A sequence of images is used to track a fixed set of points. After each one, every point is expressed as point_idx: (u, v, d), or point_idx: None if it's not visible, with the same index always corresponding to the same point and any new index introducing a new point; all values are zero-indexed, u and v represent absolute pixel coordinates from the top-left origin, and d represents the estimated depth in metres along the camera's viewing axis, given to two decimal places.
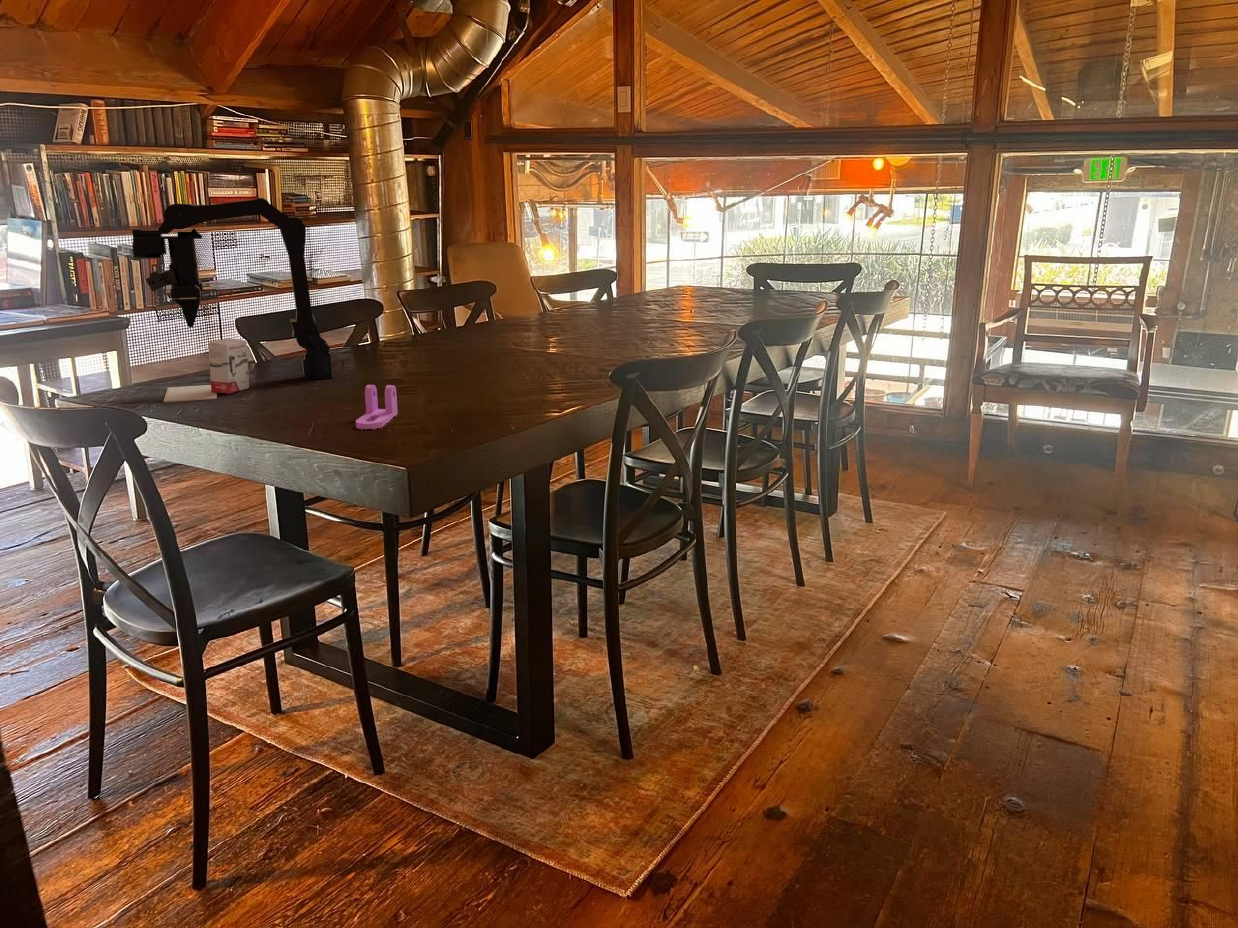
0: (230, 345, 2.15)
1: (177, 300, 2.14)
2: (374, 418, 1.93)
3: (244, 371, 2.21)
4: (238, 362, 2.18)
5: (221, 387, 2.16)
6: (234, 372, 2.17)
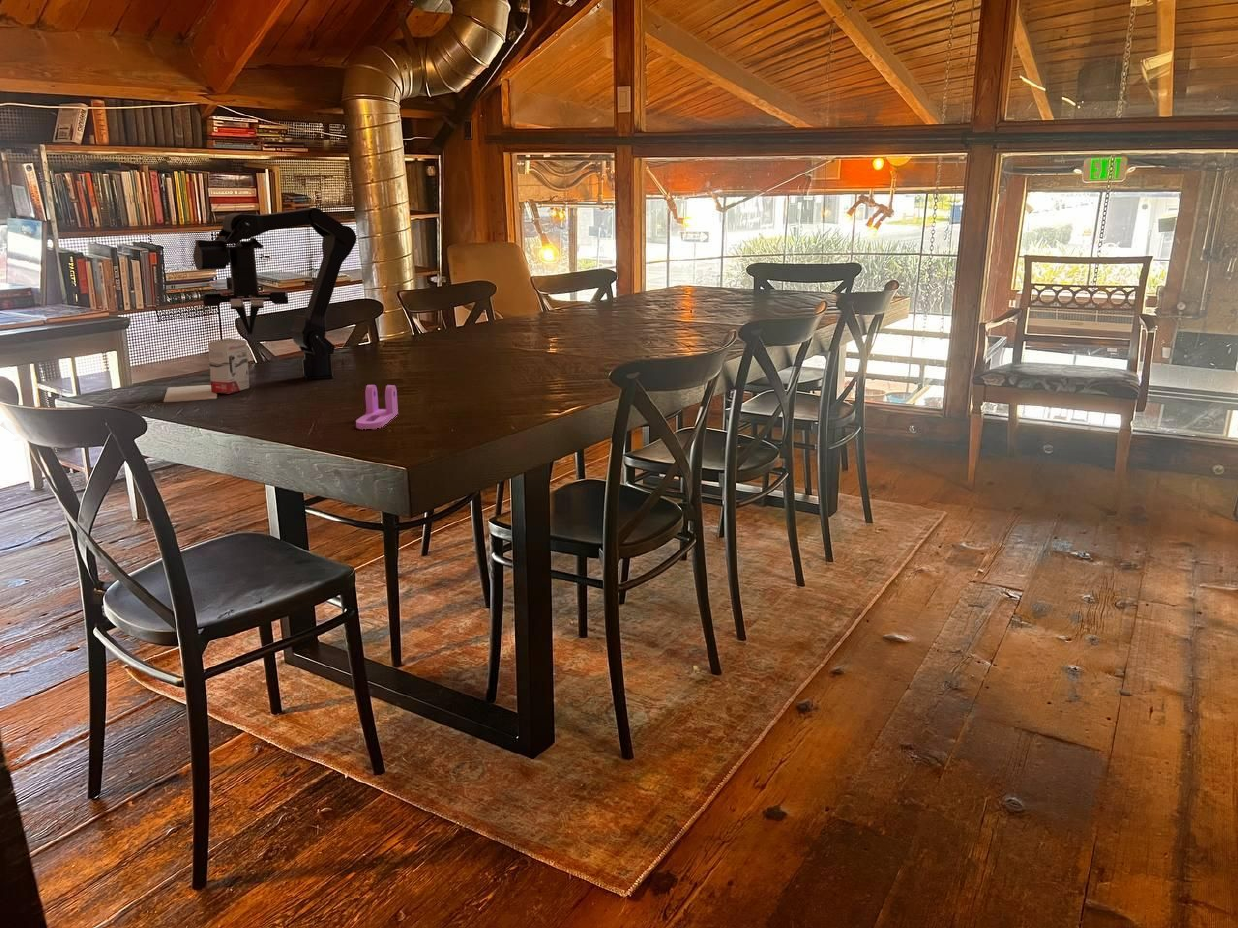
0: (230, 345, 2.15)
1: None
2: (374, 418, 1.93)
3: (244, 371, 2.21)
4: (238, 362, 2.18)
5: (221, 387, 2.16)
6: (234, 372, 2.17)
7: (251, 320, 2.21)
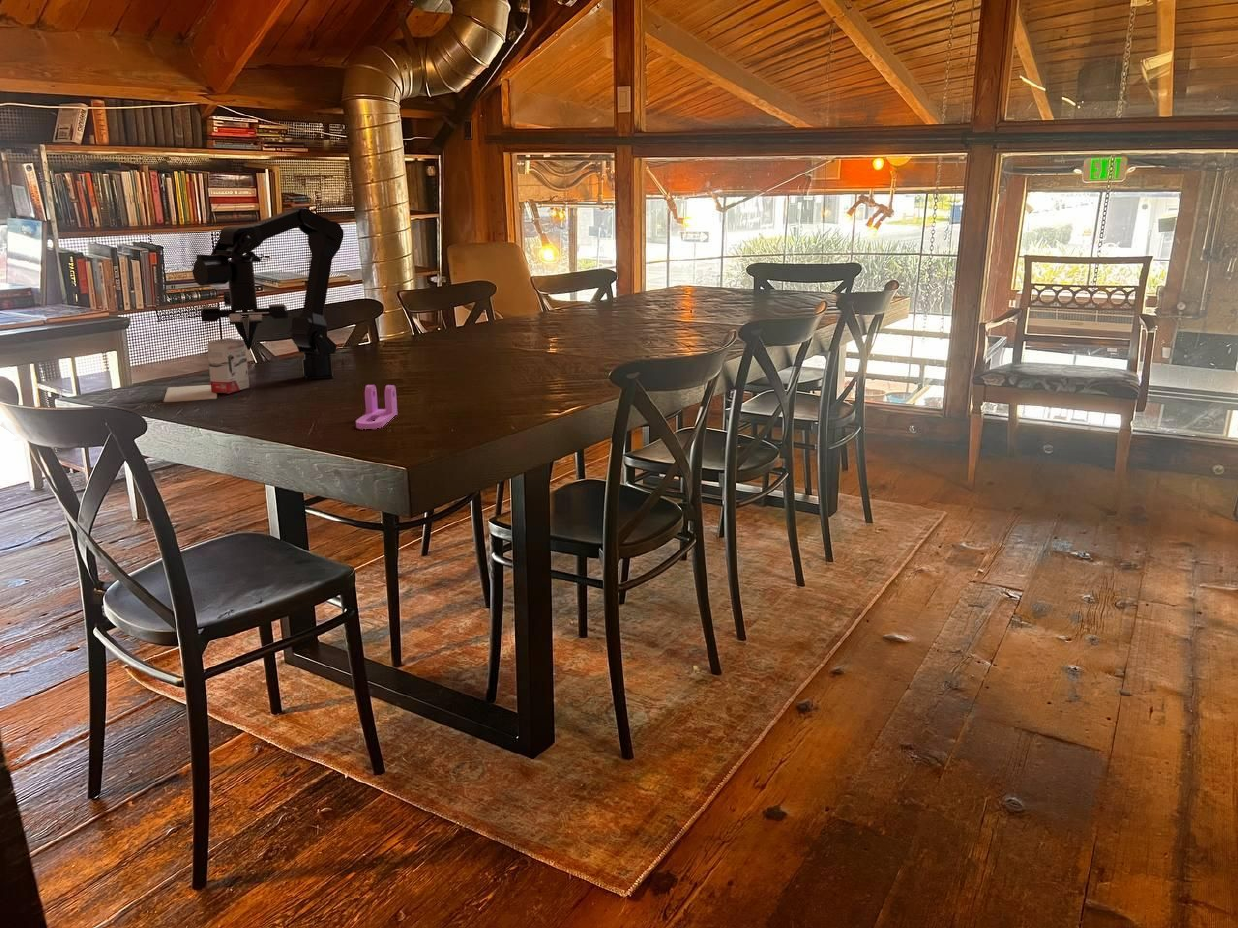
0: (229, 345, 2.15)
1: None
2: (374, 418, 1.93)
3: (243, 370, 2.21)
4: (237, 361, 2.18)
5: (221, 387, 2.16)
6: (233, 371, 2.17)
7: (250, 335, 2.17)
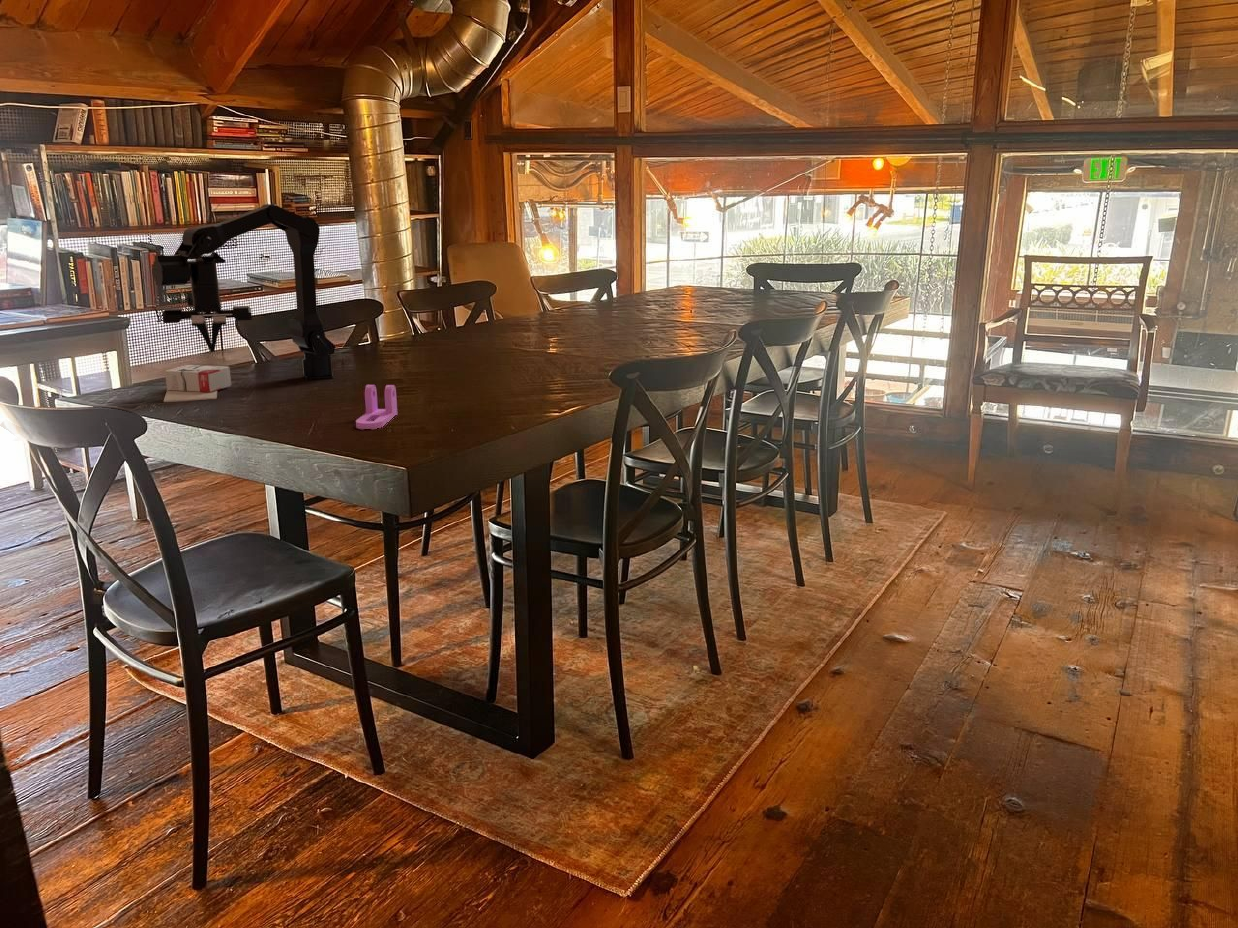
0: (170, 369, 2.20)
1: None
2: (374, 418, 1.93)
3: (208, 366, 2.23)
4: (192, 368, 2.21)
5: (203, 380, 2.16)
6: (196, 369, 2.19)
7: (213, 337, 2.15)
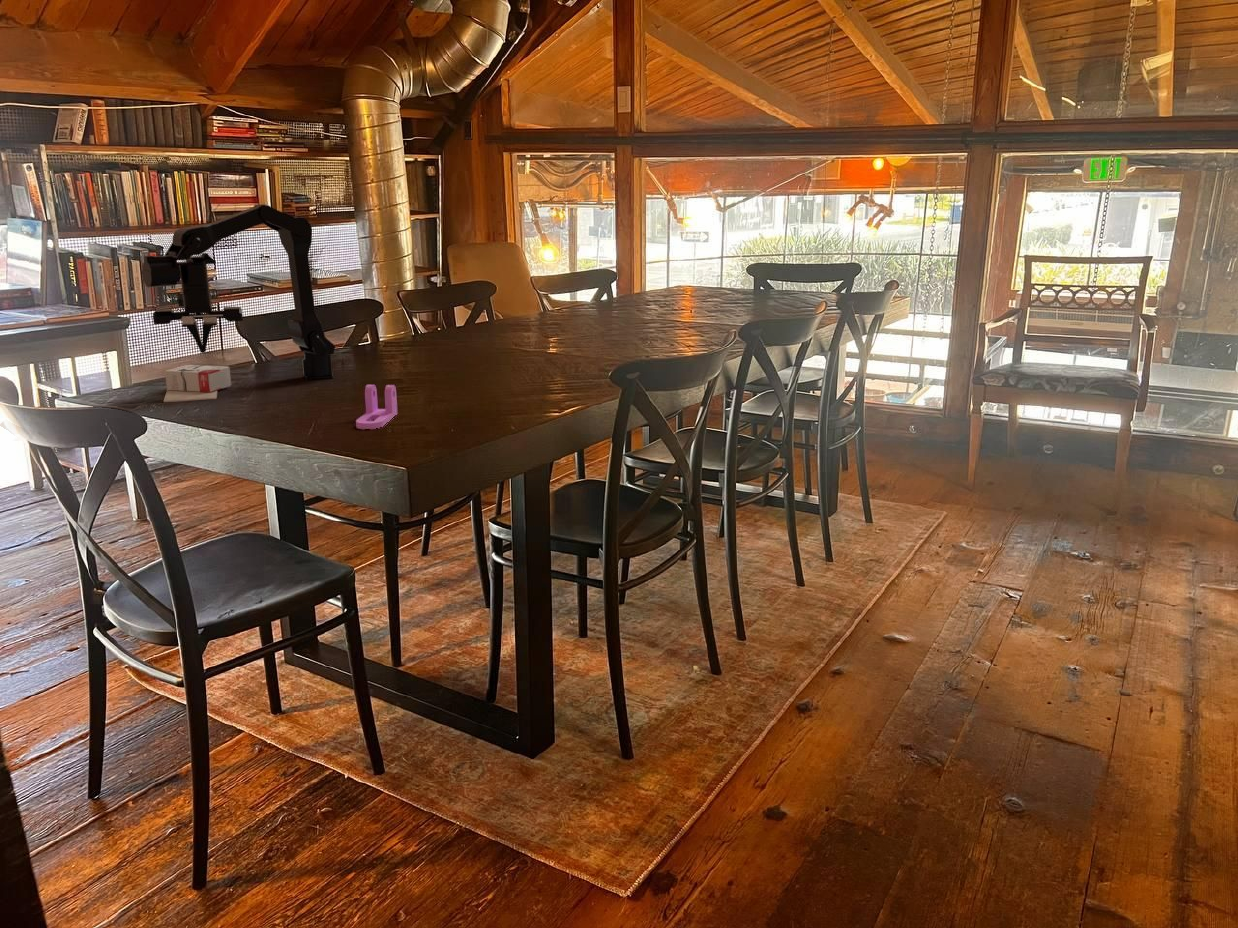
0: (170, 369, 2.20)
1: None
2: (374, 418, 1.93)
3: (208, 366, 2.23)
4: (192, 368, 2.21)
5: (203, 380, 2.16)
6: (196, 369, 2.19)
7: (204, 338, 2.14)
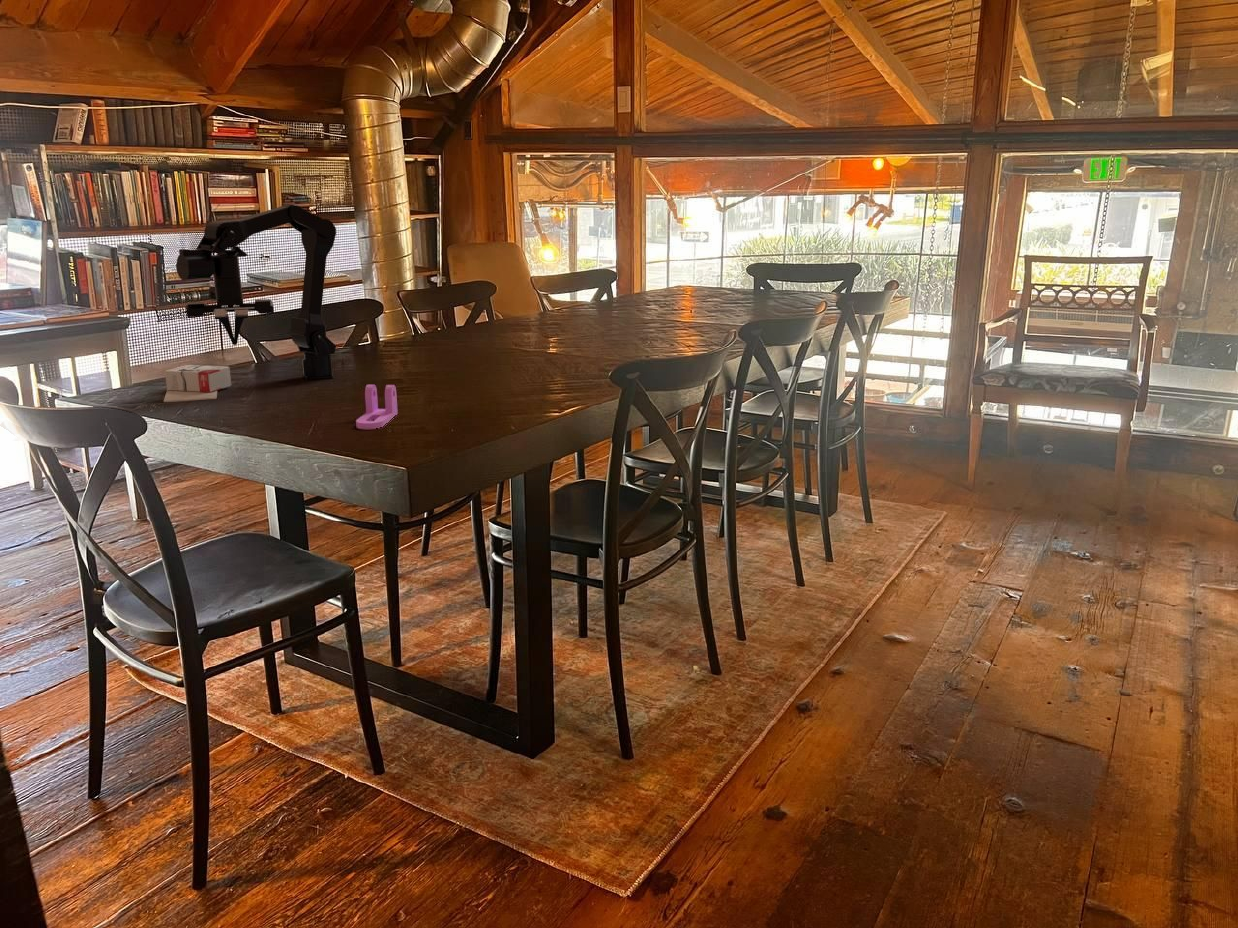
0: (170, 369, 2.20)
1: None
2: (374, 418, 1.93)
3: (208, 366, 2.23)
4: (192, 368, 2.21)
5: (203, 380, 2.16)
6: (196, 369, 2.19)
7: (236, 330, 2.16)
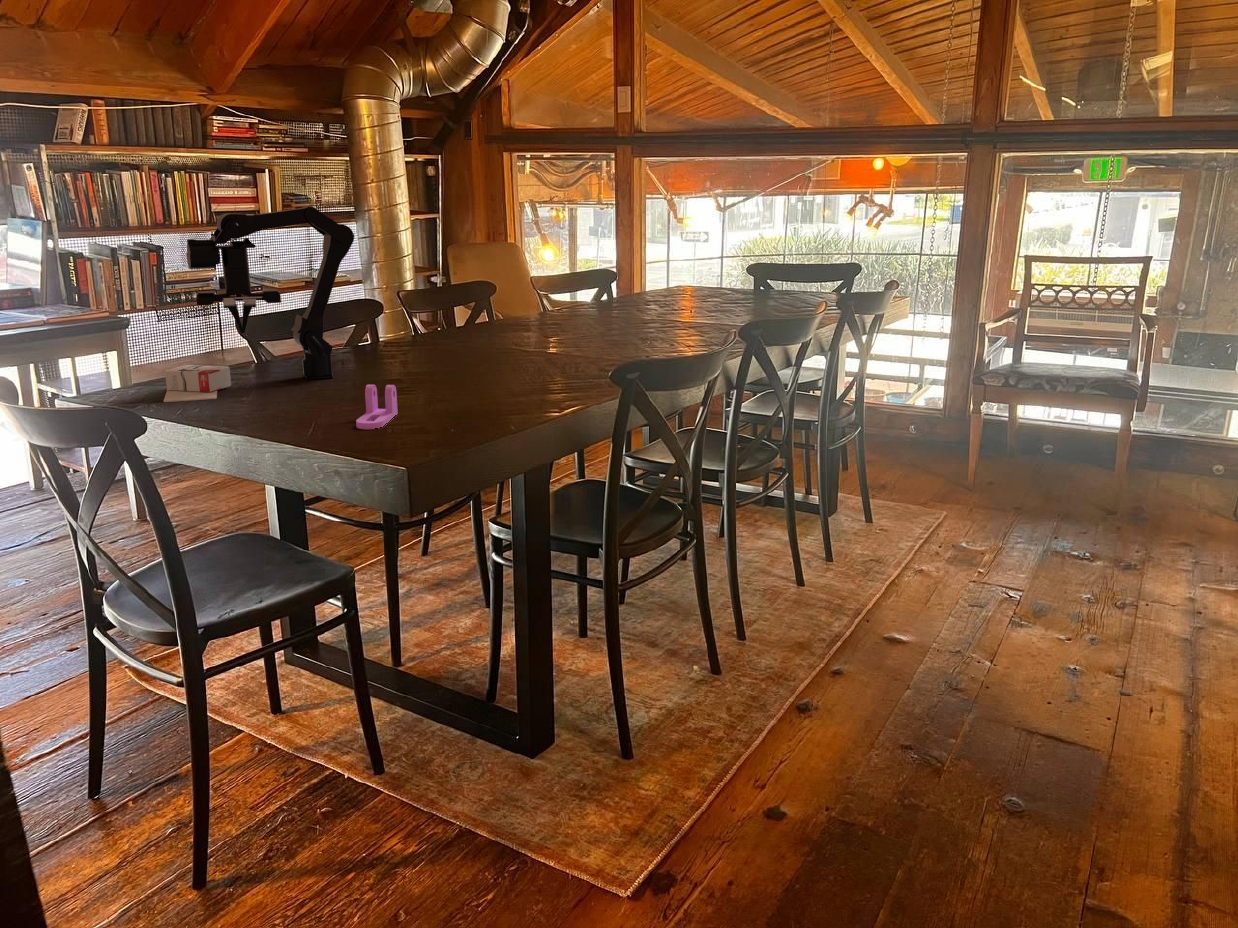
0: (170, 369, 2.20)
1: None
2: (374, 418, 1.93)
3: (208, 366, 2.23)
4: (192, 368, 2.21)
5: (203, 380, 2.16)
6: (196, 369, 2.19)
7: (244, 319, 2.23)
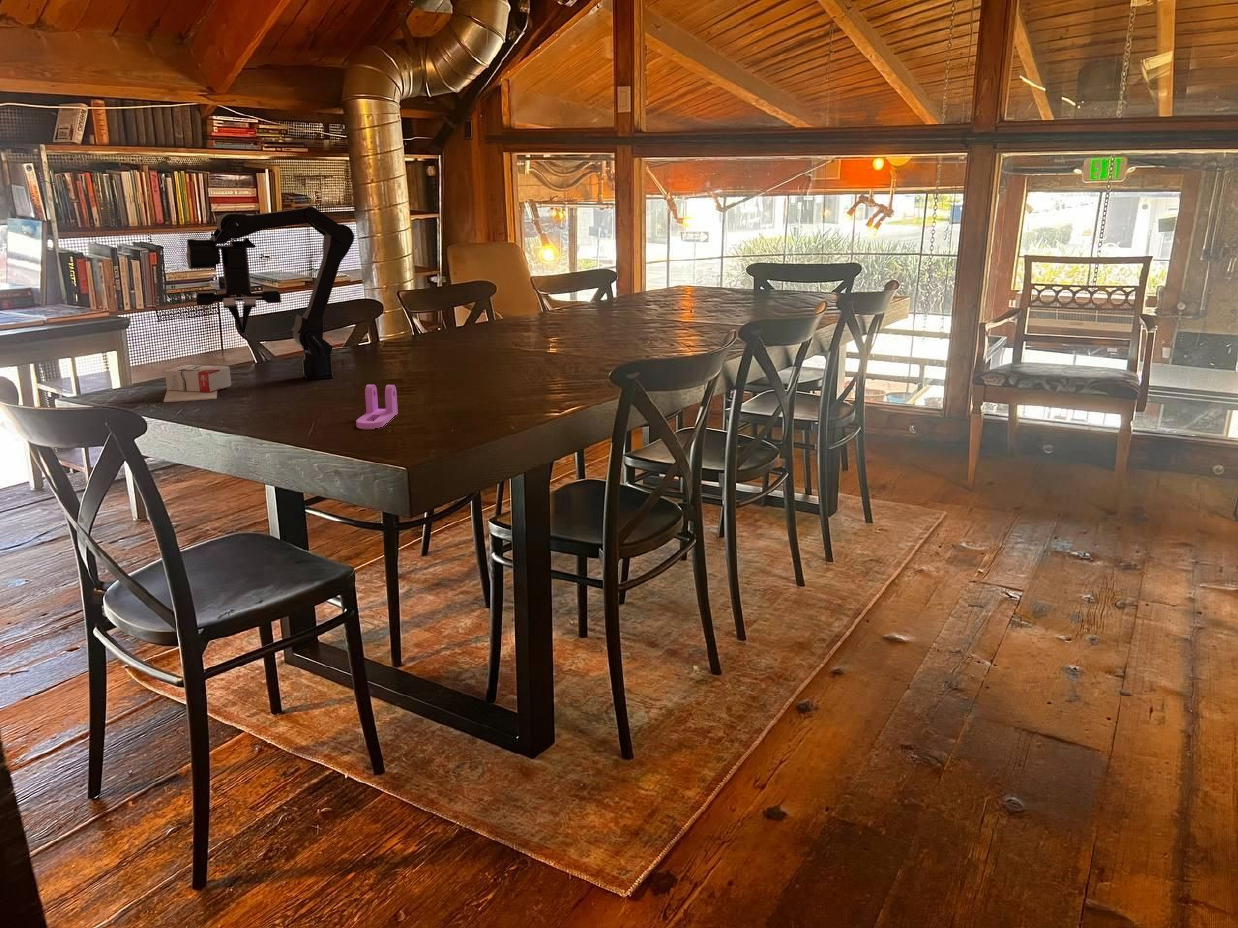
0: (170, 369, 2.20)
1: None
2: (374, 418, 1.93)
3: (208, 366, 2.23)
4: (192, 368, 2.21)
5: (203, 380, 2.16)
6: (196, 369, 2.19)
7: (244, 319, 2.23)
